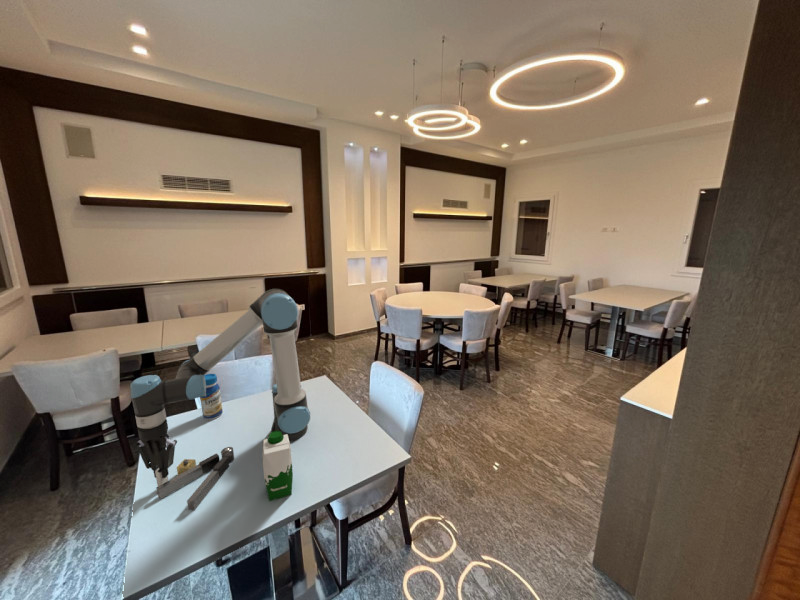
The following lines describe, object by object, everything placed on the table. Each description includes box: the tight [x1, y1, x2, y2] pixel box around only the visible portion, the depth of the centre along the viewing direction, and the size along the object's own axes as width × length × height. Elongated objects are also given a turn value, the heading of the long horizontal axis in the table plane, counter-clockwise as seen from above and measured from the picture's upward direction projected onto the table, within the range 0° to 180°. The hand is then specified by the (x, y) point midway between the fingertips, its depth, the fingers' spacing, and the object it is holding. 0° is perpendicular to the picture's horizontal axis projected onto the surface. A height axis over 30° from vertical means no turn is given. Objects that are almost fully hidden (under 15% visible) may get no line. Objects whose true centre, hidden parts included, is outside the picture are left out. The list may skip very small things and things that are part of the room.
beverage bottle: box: [199, 373, 224, 421], centre depth 146 cm, size 8×8×20 cm
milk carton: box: [261, 431, 294, 502], centre depth 104 cm, size 9×9×20 cm
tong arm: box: [155, 453, 221, 500], centre depth 109 cm, size 19×2×4 cm, turn 146°
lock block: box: [176, 458, 197, 476], centre depth 112 cm, size 4×4×5 cm
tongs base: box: [186, 446, 235, 511], centre depth 109 cm, size 24×4×5 cm, turn 178°
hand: (163, 484), depth 106 cm, fingers closed
